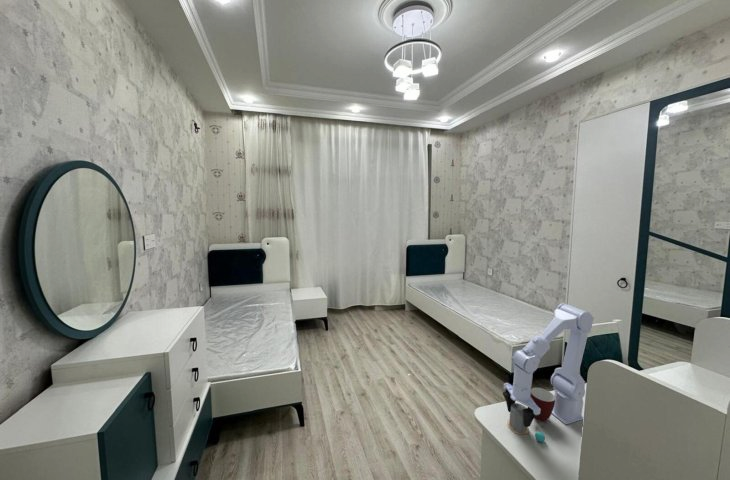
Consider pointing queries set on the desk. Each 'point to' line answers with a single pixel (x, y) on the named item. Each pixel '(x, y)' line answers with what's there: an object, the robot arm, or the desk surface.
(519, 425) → the faceted grey cylinder
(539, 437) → the marble
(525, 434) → the tan round coaster
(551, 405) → the mug
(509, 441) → the desk surface
